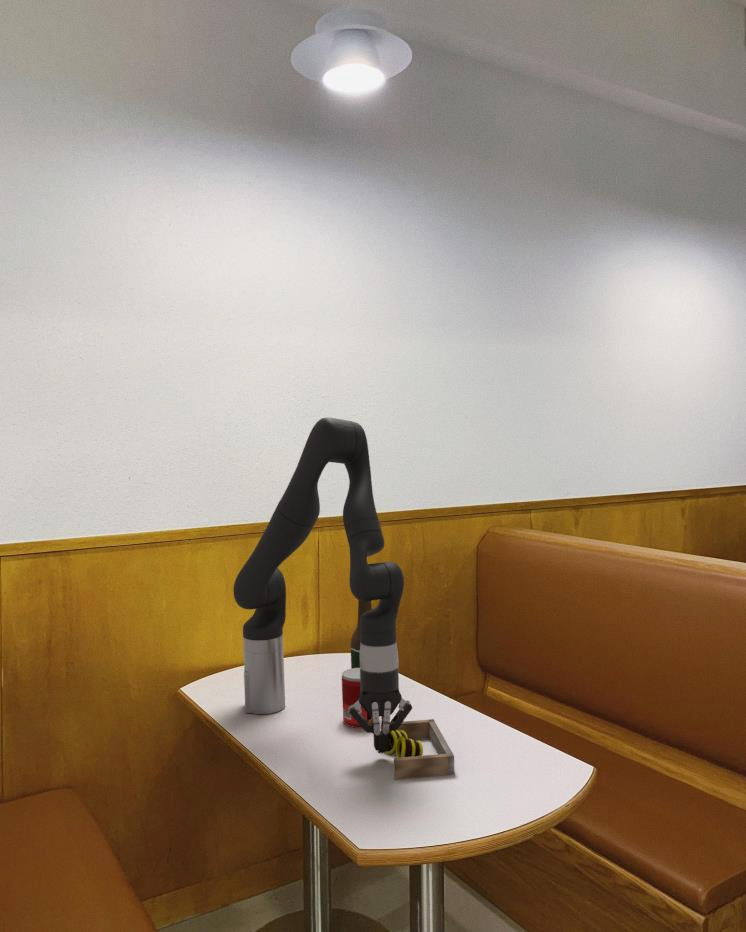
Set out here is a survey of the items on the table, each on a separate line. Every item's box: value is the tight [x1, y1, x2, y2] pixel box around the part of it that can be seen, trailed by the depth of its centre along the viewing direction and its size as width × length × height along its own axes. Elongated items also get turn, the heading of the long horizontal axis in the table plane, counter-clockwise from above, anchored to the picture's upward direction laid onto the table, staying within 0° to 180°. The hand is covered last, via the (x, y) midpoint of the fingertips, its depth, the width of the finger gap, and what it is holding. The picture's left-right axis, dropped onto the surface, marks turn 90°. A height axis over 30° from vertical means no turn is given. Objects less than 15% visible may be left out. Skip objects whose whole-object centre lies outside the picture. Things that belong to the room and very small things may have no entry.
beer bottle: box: [350, 599, 373, 669], centre depth 193 cm, size 8×8×24 cm
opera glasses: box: [380, 729, 424, 758], centre depth 156 cm, size 10×5×5 cm, turn 30°
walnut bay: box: [380, 718, 456, 780], centre depth 155 cm, size 11×18×4 cm, turn 8°
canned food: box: [341, 668, 372, 728], centre depth 173 cm, size 8×8×11 cm
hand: (381, 751), depth 154 cm, fingers closed
